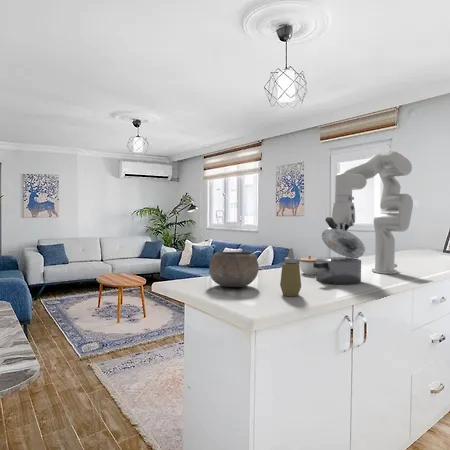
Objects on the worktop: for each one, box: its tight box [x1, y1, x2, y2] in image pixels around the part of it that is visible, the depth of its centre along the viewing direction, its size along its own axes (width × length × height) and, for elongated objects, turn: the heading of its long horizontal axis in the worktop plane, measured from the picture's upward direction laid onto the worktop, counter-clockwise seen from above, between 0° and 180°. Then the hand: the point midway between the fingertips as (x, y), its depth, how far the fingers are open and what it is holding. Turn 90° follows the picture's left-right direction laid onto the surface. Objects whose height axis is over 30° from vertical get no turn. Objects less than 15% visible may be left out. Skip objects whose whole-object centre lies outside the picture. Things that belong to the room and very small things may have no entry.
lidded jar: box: [298, 255, 316, 276], centre depth 187 cm, size 11×11×9 cm
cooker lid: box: [321, 216, 366, 259], centre depth 168 cm, size 27×21×3 cm
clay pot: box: [208, 251, 260, 288], centre depth 153 cm, size 21×21×15 cm
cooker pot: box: [314, 256, 362, 286], centre depth 166 cm, size 26×20×10 cm
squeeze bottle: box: [279, 248, 302, 297], centre depth 138 cm, size 8×8×18 cm
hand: (342, 238), depth 169 cm, fingers closed
